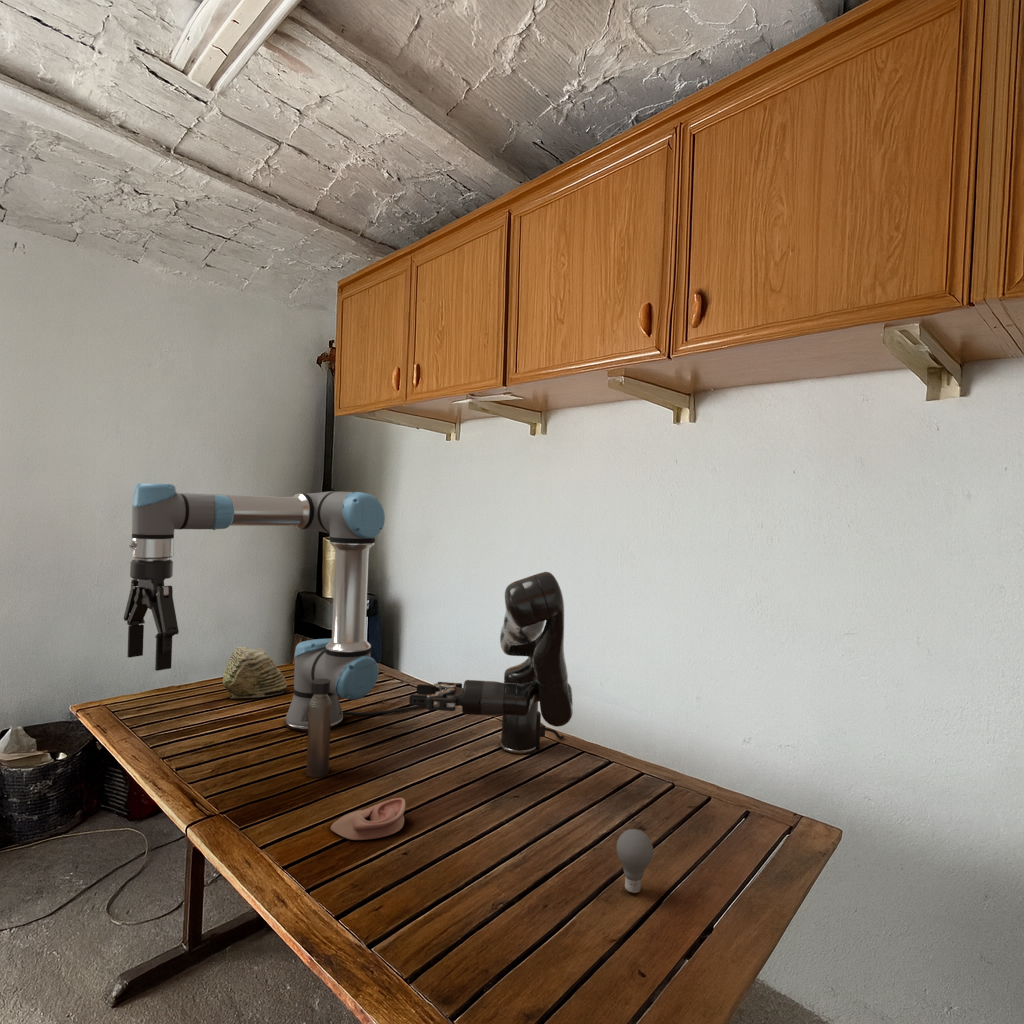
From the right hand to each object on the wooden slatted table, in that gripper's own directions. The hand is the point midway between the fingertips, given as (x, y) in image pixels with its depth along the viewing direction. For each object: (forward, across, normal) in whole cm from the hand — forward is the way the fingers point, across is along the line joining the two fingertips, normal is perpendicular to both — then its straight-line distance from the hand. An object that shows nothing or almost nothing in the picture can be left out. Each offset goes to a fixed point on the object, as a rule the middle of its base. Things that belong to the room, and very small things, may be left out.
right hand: (413, 694), depth 144 cm
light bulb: (-45, +37, +20) cm, 61 cm away
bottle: (+21, -1, +19) cm, 29 cm away
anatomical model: (+4, +21, +20) cm, 29 cm away
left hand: (+52, +16, -8) cm, 55 cm away
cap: (+21, 0, -2) cm, 21 cm away
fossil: (+59, -52, +18) cm, 81 cm away
